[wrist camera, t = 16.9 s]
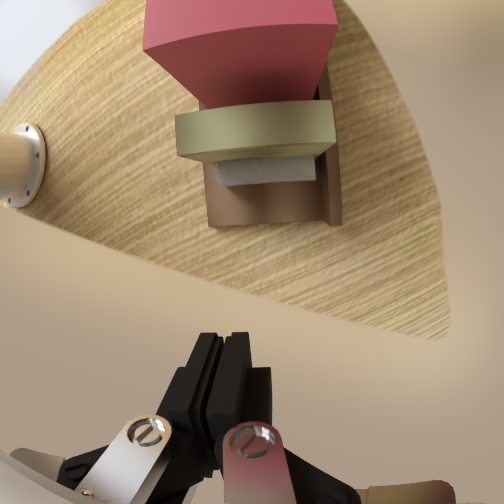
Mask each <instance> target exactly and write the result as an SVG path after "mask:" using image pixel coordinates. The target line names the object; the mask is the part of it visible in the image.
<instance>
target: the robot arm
mask: <svg viewBox="0 0 504 504" xmlns="http://www.w3.org/2000/svg"><path fill="white" fill-rule="evenodd" d="M45 155H46V152H45V143H44V139H43V136H42V133H41V131H40V130H39V128H38V127H37V126H36V125H34V124H31V123H21V124H19V125H17V126H16V127H15V128H14V129H13V130H12V131H11V132H3V131H0V200H1V199H5V201H6V202H7V203H8V204H9V205H10V206H12V207H15V208H18V207H23V206H26V205H27V204H29V203H30V202H31V201H32V200H33V199H34V197H35V195H36V194H37V192H38V190H39V187H40V185H41V182H42V178H43V174H44V169H45ZM271 382H272V381H271V368H270V367H257V368H252V361H251V351H250V341H249V333H248V332H233V333H232V336H227V337H226V339H225V343H224V340H223V337H218V335H217V333H200V335H199V337H198V340H197V342H196V344H195V346H194V349H193V351H192V353H191V355H190V358H189V360H188V362H187V365H186V367H178V369H177V370H176V372H175V374H174V377H173V379H172V381H171V383H170V385H169V387H168V389H167V391H166V393H165V396H164V398H163V400H162V402H161V404H160V406H159V408H158V410H157V413H156V415H142V416H139V417H136V418H134V419H132V420H130V421H129V422H128V423H127V424H126V425H125V426H124V427H123V429H122V430H121V432H120V433H119V434H118V435H117V436H116V438H115V439H114V440H113V442H112V443H111V444H110V445H107V446H105V447H102V448H99V449H96V450H93V451H91V452H87V453H84V454H81V455H78V456H75V457H72V458H70V459H68V460H66V459H65V458H64V457H60V456H54V455H50V454H46V453H41V452H37V451H33V450H29V449H26V448H19V449H15V450H14V451H13V452H11V454H10V455H7V454H6V453H4V452H3V451H1V450H0V504H190V502H191V500H192V498H193V496H194V494H195V491H196V488H197V483H199V482H201V481H203V479H204V477H207V478H212V474H213V470H219V469H220V472H221V474H222V477H223V480H224V499H225V500H224V501H225V504H456V498H455V492H454V490H453V487H452V486H451V485H450V484H449V483H447V482H444V481H442V480H432V481H426V482H419V483H411V484H401V485H389V486H369V488H368V489H353V488H352V487H351V486H349V485H347V484H345V483H343V482H341V481H340V480H338V479H336V478H334V477H332V476H330V475H328V474H327V473H325V472H323V471H321V470H320V469H318V468H316V467H314V466H313V465H311V464H309V463H308V462H306V461H304V460H303V459H301V458H300V457H298V456H296V455H295V454H293V453H292V452H290V451H288V450H287V449H286V448H284V447H283V443H282V439H281V436H280V434H279V432H278V431H277V430H276V429H275V428H274V427H273V426H272V383H271ZM461 504H484V503H461Z"/></svg>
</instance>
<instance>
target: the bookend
mask: <svg viewBox="0 0 504 504" xmlns="http://www.w3.org/2000/svg"><path fill="white" fill-rule="evenodd" d="M213 164H214V176H215V187H227V186H238V185H250V184H263V183H278V182H296V181H313V180H316V175H315V162H314V155H303V156H283V157H268V158H256V159H244V160H234V161H225V162H216V163H213Z"/></svg>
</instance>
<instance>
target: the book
mask: <svg viewBox="0 0 504 504" xmlns="http://www.w3.org/2000/svg"><path fill="white" fill-rule="evenodd" d="M337 27H338V21H337V17H336V13H335V10H334V6H333V3H332V0H147V1H146V11H145V22H144V35H143V51H144V52H145V53H147V54H148V55H149V56H150V57H151V58H152V59H154V60H155V61H156V62H157V63H158V64H159V65H161V66H162V67H163V68H164V69H165V70H166V71H167V72H168V73H170V74H171V75H172V76H173V77H174V78H175V79H176V80H177V81H178V82H180V83H181V84H182V85H183V86H184V87H185V88H186V89H187V90H188V91H189V92H190V93H192V94H193V95H194V96H195V97H196V98H197V99H198V100H199V101H200V102H201V103H202V104H203V105H204V106H205V107H206V108H207V109H215V108H222V107H229V106H237V105H246V104H256V103H268V102H282V101H304V100H312V99H313V97H314V94H315V91H316V88H317V85H318V82H319V79H320V76H321V74H322V71H323V68H324V65H325V62H326V59H327V56H328V53H329V51H330V48H331V45H332V42H333V39H334V36H335V33H336V30H337Z"/></svg>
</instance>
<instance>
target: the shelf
mask: <svg viewBox="0 0 504 504" xmlns="http://www.w3.org/2000/svg"><path fill="white" fill-rule="evenodd" d="M175 130H176V147H177V156H180V157H184V158H188V159H192V160H196V161H200V162H203V170H204V182H205V194H206V204H207V215H208V225H209V227H218V226H232V225H247V224H262V223H279V222H297V221H317V220H324V221H325V222H326V223H327V224H328V225H330V226H342V201H341V183H340V168H339V156H338V145H337V135H336V125H335V117H334V109H333V101H332V94H331V87H330V81H329V75H328V69H327V63H326V62H325V65H324V68H323V71H322V74H321V76H320V79H319V82H318V85H317V88H316V91H315V94H314V97H313V99H312V100H304V101H282V102H268V103H256V104H246V105H237V106H229V107H222V108H215V109H207V108H206V107H205V106H204V105H203V104H202V103H201V102H200V101H199V111H196V112H190V113H185V114H180V115H175ZM303 155H314V162H315V175H316V180H313V181H296V182H278V183H263V184H250V185H238V186H227V187H215V176H214V164H213V163H216V162H225V161H234V160H244V159H256V158H268V157H283V156H303Z"/></svg>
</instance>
